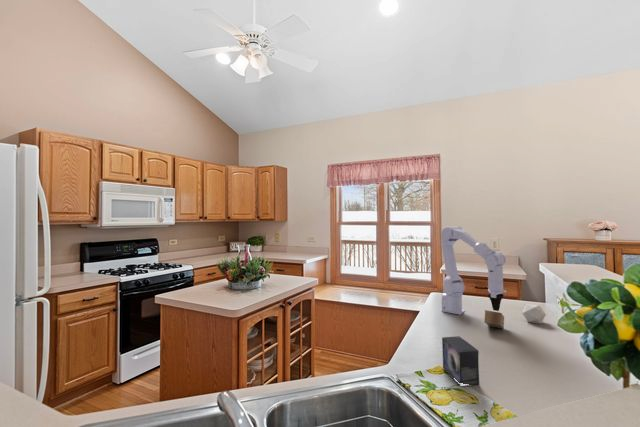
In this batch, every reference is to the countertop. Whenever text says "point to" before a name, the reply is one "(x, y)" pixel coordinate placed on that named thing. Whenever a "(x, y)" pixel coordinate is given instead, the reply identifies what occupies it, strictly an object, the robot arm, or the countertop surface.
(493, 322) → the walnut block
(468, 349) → the small box
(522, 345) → the countertop surface
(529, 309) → the die
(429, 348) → the countertop surface
